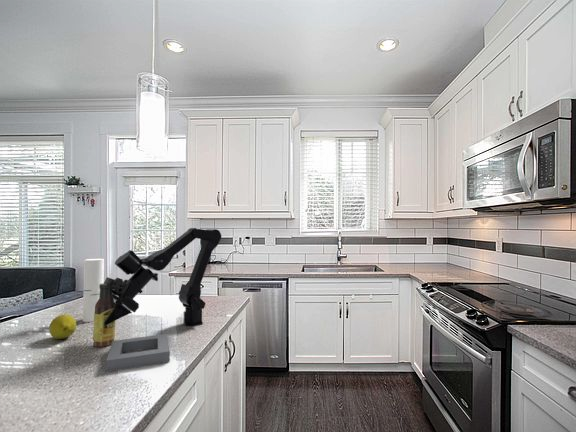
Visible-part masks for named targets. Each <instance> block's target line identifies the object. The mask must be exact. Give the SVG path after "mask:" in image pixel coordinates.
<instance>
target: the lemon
mask: <svg viewBox="0 0 576 432" xmlns="http://www.w3.org/2000/svg"><path fill="white" fill-rule="evenodd" d="M76 330H77V321H76V319H75V317H73V315H70V314H61V315H58V316H56V317H54V318H53V319H52V320H51V322H50V323H49V325H48V331H49V332H48V333H49V334H50V336H51V337H52V338H54V339H55V340H56V339H58V340H63V339H66V338H68V337H70V336H72V335H73V334H74V333H75V331H76Z"/></svg>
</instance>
